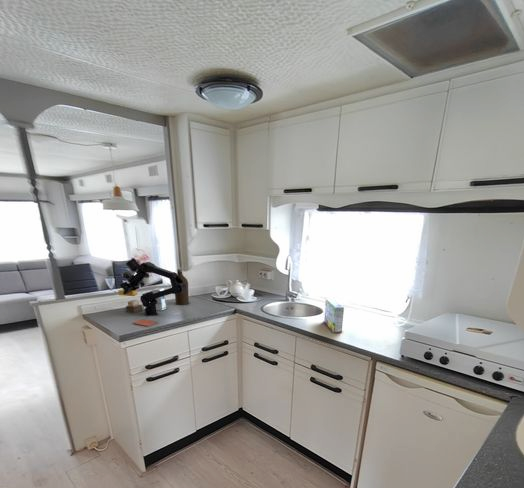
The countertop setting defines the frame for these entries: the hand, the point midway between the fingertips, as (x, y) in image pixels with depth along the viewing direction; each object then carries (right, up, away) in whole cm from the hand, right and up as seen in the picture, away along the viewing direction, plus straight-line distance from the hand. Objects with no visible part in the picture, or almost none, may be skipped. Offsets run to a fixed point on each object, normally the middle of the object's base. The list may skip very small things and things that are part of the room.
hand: (126, 293), depth 215 cm
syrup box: (+19, -9, +13) cm, 25 cm away
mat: (+19, -21, -17) cm, 33 cm away
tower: (+3, -11, +7) cm, 13 cm away
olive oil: (+30, -3, +29) cm, 42 cm away
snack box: (+133, -24, -19) cm, 136 cm away
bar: (+1, -1, 0) cm, 2 cm away
